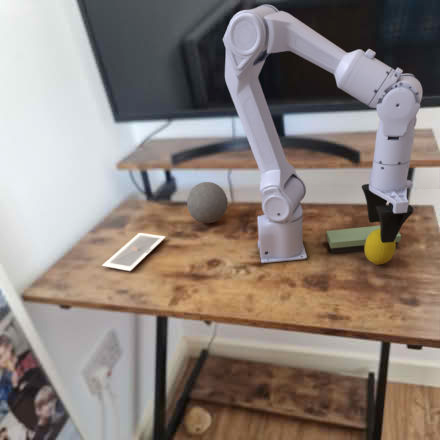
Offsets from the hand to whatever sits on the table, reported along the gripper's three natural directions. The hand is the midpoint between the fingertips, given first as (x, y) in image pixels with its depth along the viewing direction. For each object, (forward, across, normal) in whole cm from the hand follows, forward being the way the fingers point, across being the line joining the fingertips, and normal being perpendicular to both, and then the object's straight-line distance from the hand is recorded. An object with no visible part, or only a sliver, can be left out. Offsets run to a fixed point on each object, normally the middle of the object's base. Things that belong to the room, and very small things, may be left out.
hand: (380, 231), depth 75 cm
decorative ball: (+8, +26, +34) cm, 43 cm away
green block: (+8, +7, +1) cm, 11 cm away
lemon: (+8, 0, 0) cm, 8 cm away
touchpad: (+8, +13, +51) cm, 53 cm away
